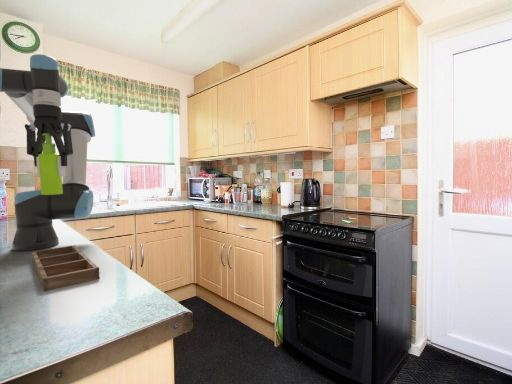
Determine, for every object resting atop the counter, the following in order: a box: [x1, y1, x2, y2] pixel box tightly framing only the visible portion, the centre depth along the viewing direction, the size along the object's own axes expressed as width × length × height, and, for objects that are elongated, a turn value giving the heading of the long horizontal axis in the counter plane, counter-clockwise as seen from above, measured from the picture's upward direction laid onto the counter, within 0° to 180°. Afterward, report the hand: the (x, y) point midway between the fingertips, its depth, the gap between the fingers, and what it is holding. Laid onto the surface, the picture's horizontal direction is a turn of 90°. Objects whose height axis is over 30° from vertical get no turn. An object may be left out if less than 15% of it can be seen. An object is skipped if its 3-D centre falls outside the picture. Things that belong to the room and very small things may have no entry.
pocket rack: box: [31, 244, 101, 292], centre depth 89 cm, size 36×12×3 cm, turn 41°
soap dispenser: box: [38, 133, 63, 195], centre depth 96 cm, size 6×7×20 cm
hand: (51, 176), depth 96 cm, fingers closed on soap dispenser, 6 cm apart
